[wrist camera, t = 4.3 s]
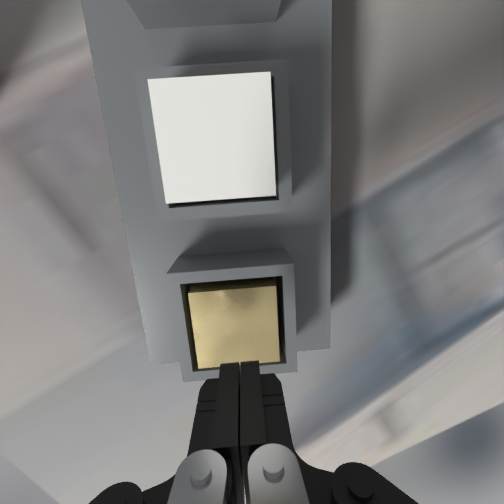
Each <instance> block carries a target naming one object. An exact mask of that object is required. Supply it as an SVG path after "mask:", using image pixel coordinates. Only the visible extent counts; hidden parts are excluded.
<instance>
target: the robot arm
mask: <svg viewBox="0 0 504 504" xmlns="http://www.w3.org/2000/svg"><path fill="white" fill-rule="evenodd" d="M244 485H245V494H246V504H418V503H417V502H415V501H414V500H413V499H412V498H410V497H409V496H408V495H406V494H405V493H404V492H402V491H401V490H400V489H398V488H397V487H396V486H395V485H393V484H392V483H391V482H389V481H388V480H386V479H385V478H384V477H383V476H382V475H380V474H379V473H378V472H376V471H375V470H373V469H372V468H370V467H369V466H367V465H364V464H361V463H357V462H349V463H345V464H342V465H341V466H339V467H338V468H337V469H336V470H335V472H334V473H333V472H329V471H325V470H321V469H317V468H314V467H312V466H310V465H308V464H307V463H305V462H304V461H303V460H302V459H301V458H300V457H299V456H298V455H297V453H296V452H295V449H294V447H293V444H292V439H291V433H290V428H289V423H288V417H287V412H286V407H285V401H284V396H283V391H282V385H281V382H280V381H279V379H278V378H277V377H276V375H275V374H274V373H269V374H260V368H259V360H256V361H244V362H240V364H239V362H234V363H222V364H220V371H219V378H212V379H207V380H206V381H205V383H204V384H203V386H202V387H201V388H200V391H199V396H198V404H197V407H196V414H195V418H194V423H193V429H192V434H191V439H190V445H189V450H188V455H187V458H185V459H184V460H183V461H182V463H181V464H180V466H179V467H178V469H177V472H176V474H175V475H174V476H173V477H171V478H170V479H169V480H167V481H165V482H163V483H161V484H159V485H157V486H154V487H152V488H150V489H148V490H145V491H143V492H142V491H141V489H140V488H139V487H138V486H137V485H136V484H134V483H132V482H121V483H117V484H114V485H112V486H110V487H108V488H107V489H105V490H104V491H102V492H101V493H100V494H99V495H98V496H97V497H96V498H94V499H93V500H92V501H91V502H90V503H89V504H245V501H244Z"/></svg>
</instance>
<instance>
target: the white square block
mask: <svg viewBox="0 0 504 504" xmlns="http://www.w3.org/2000/svg"><path fill="white" fill-rule="evenodd" d="M147 80H148V87H149V93H150V100H151V107H152V114H153V120H154V127H155V134H156V141H157V147H158V154H159V161H160V168H161V174H162V181H163V188H164V195H165V201H166V204H168V203H182V202H195V201H209V200H222V199H236V198H249V197H263V196H276V182H275V160H274V138H273V116H272V94H271V72H256V73H240V74H224V75H208V76H191V77H175V78H159V79H147Z"/></svg>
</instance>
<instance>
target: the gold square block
mask: <svg viewBox="0 0 504 504" xmlns="http://www.w3.org/2000/svg"><path fill="white" fill-rule="evenodd" d="M188 297H189V305H190V312H191V319H192V326H193V333H194V340H195V348H196V355H197V362H198V369H200V368H211V367H220V364H222V363H234V362H239V364H240V362H244V361H256V360H259V363H267V362H278V361H280V356H279V336H278V316H277V296H276V284H275V281H274V278H273V277H261V278H249V279H236V280H224V281H212V282H200V283H192V284H191V287H190V289H189V292H188Z"/></svg>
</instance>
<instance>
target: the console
mask: <svg viewBox="0 0 504 504" xmlns="http://www.w3.org/2000/svg"><path fill="white" fill-rule="evenodd" d="M81 2H82V8H83V13H84V18H85V23H86V29H87V34H88V39H89V44H90V50H91V55H92V60H93V65H94V70H95V76H96V81H97V86H98V91H99V97H100V102H101V107H102V112H103V118H104V123H105V128H106V133H107V139H108V144H109V149H110V154H111V159H112V165H113V170H114V175H115V180H116V186H117V191H118V196H119V201H120V207H121V212H122V217H123V222H124V227H125V233H126V238H127V243H128V248H129V254H130V259H131V264H132V269H133V275H134V280H135V285H136V290H137V295H138V301H139V306H140V311H141V316H142V322H143V327H144V332H145V337H146V343H147V348H148V353H149V358H150V364H159V363H170V362H180V365H181V371H182V377H183V382H189V381H200V380H207V379H212V378H219V371H220V367H211V368H200V369H198V362H197V355H196V348H195V340H194V333H193V326H192V319H191V312H190V305H189V297H188V292H189V289H190V287H191V284H192V283H200V282H212V281H224V280H236V279H249V278H261V277H273V278H274V281H275V284H276V296H277V316H278V336H279V356H280V361H278V362H267V363H259V368H260V374H269V373H274V374H277V373H288V372H297V351H305V350H317V349H328V348H330V292H331V95H332V0H81ZM256 72H271V94H272V116H273V138H274V160H275V182H276V196H263V197H249V198H236V199H222V200H209V201H195V202H182V203H168V204H166V201H165V195H164V188H163V181H162V174H161V168H160V161H159V154H158V147H157V141H156V134H155V127H154V120H153V114H152V107H151V100H150V93H149V87H148V80H147V79H159V78H175V77H191V76H208V75H224V74H240V73H256Z"/></svg>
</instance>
